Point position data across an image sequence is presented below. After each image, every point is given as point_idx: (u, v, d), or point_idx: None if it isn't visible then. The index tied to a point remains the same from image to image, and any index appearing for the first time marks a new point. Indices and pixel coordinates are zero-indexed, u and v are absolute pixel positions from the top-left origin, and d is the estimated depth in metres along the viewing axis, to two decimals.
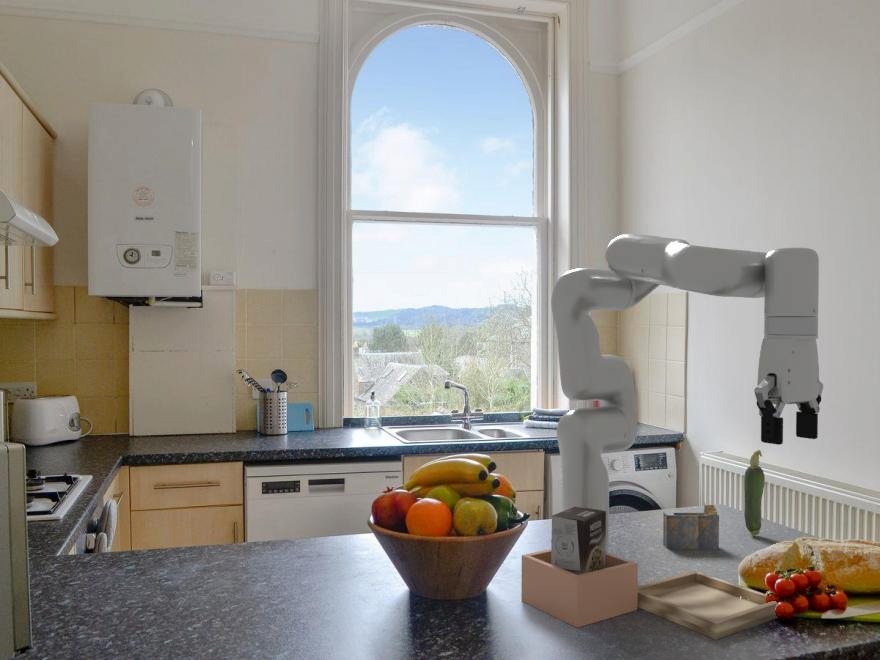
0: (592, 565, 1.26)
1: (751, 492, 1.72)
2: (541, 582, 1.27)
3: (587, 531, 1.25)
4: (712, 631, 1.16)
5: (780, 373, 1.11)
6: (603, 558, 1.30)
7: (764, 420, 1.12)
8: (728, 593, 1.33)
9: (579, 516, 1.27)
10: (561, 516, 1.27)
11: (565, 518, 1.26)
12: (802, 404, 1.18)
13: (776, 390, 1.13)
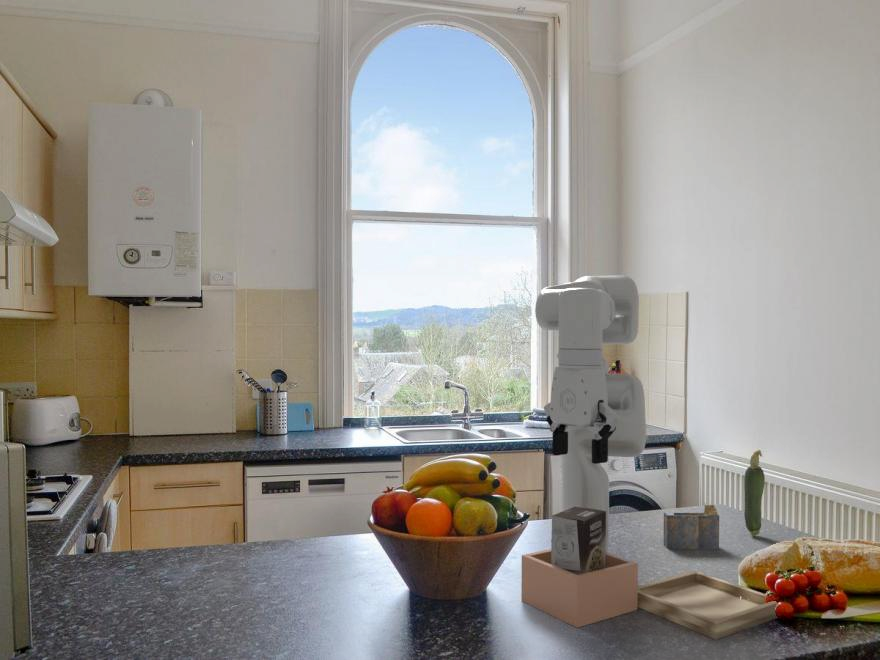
0: (592, 565, 1.26)
1: (751, 492, 1.72)
2: (541, 582, 1.27)
3: (587, 531, 1.25)
4: (712, 631, 1.16)
5: (605, 399, 1.26)
6: (603, 558, 1.30)
7: (601, 443, 1.24)
8: (728, 593, 1.33)
9: (579, 516, 1.27)
10: (561, 516, 1.27)
11: (565, 518, 1.26)
12: None
13: None
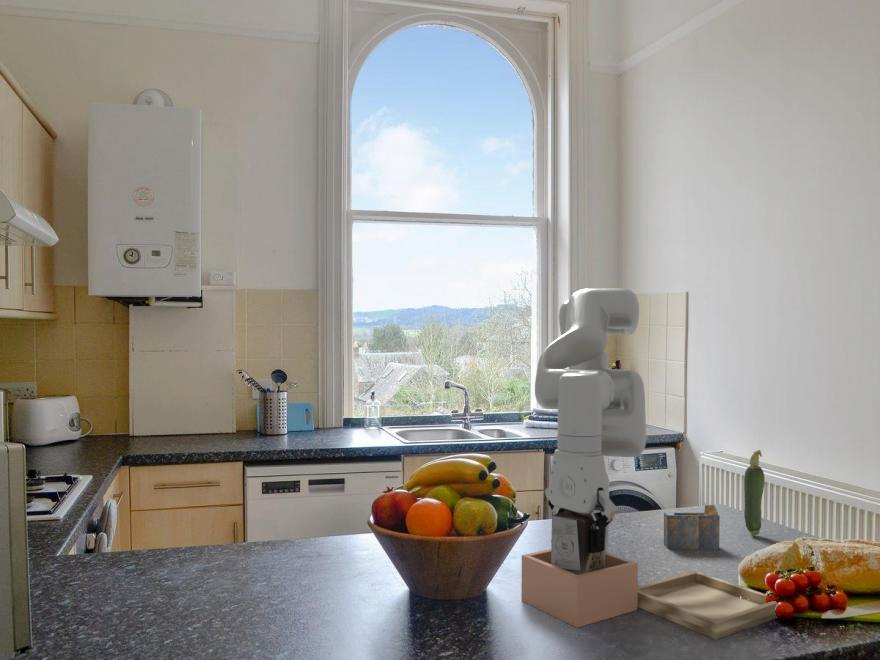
0: (592, 565, 1.26)
1: (751, 492, 1.72)
2: (541, 582, 1.27)
3: (587, 531, 1.25)
4: (712, 631, 1.16)
5: (605, 486, 1.26)
6: (603, 558, 1.30)
7: (598, 533, 1.25)
8: (728, 593, 1.33)
9: (579, 516, 1.27)
10: (561, 516, 1.27)
11: (565, 518, 1.26)
12: None
13: None
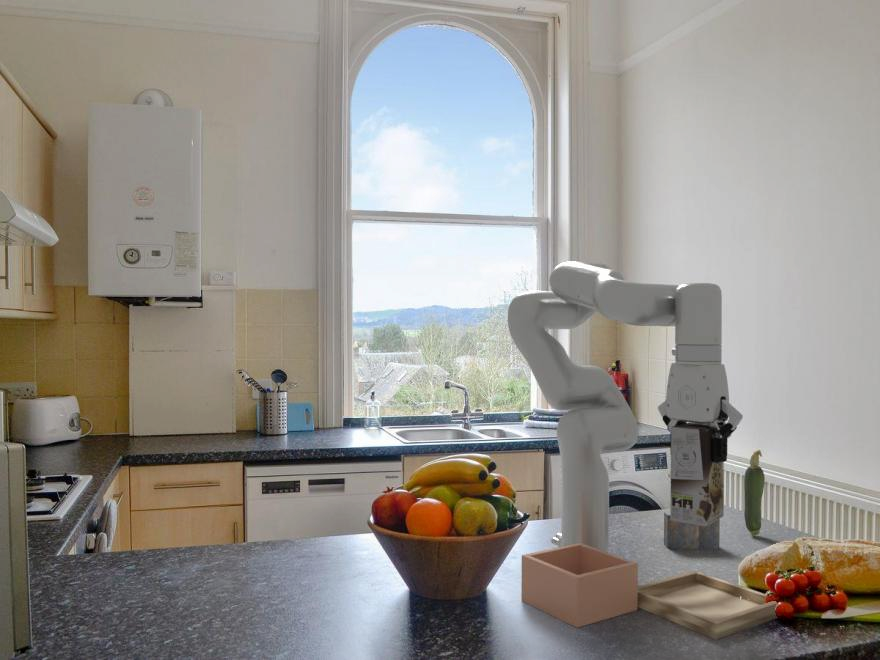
0: (714, 476, 1.25)
1: (751, 492, 1.72)
2: (541, 582, 1.27)
3: (710, 440, 1.23)
4: (712, 631, 1.16)
5: (727, 395, 1.24)
6: (722, 471, 1.28)
7: (721, 442, 1.23)
8: (728, 593, 1.33)
9: (700, 426, 1.25)
10: (681, 427, 1.25)
11: (686, 428, 1.24)
12: None
13: None
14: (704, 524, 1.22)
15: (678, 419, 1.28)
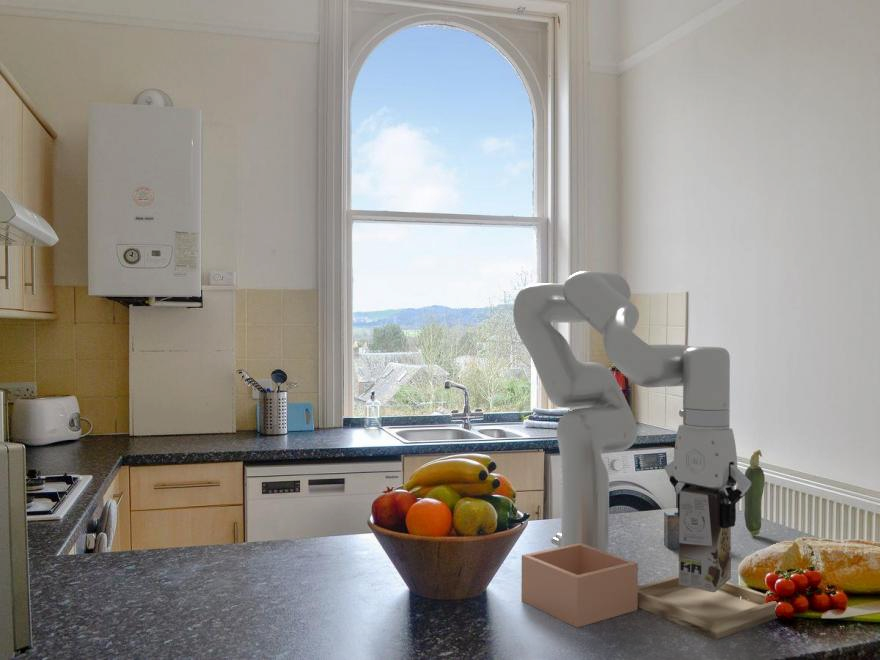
0: (722, 541, 1.25)
1: (751, 492, 1.72)
2: (541, 582, 1.27)
3: (719, 506, 1.23)
4: (712, 631, 1.16)
5: (735, 460, 1.24)
6: (729, 534, 1.28)
7: (730, 508, 1.23)
8: (728, 593, 1.33)
9: (708, 491, 1.25)
10: (689, 491, 1.25)
11: (695, 493, 1.24)
12: None
13: None
14: (713, 590, 1.22)
15: (686, 482, 1.28)
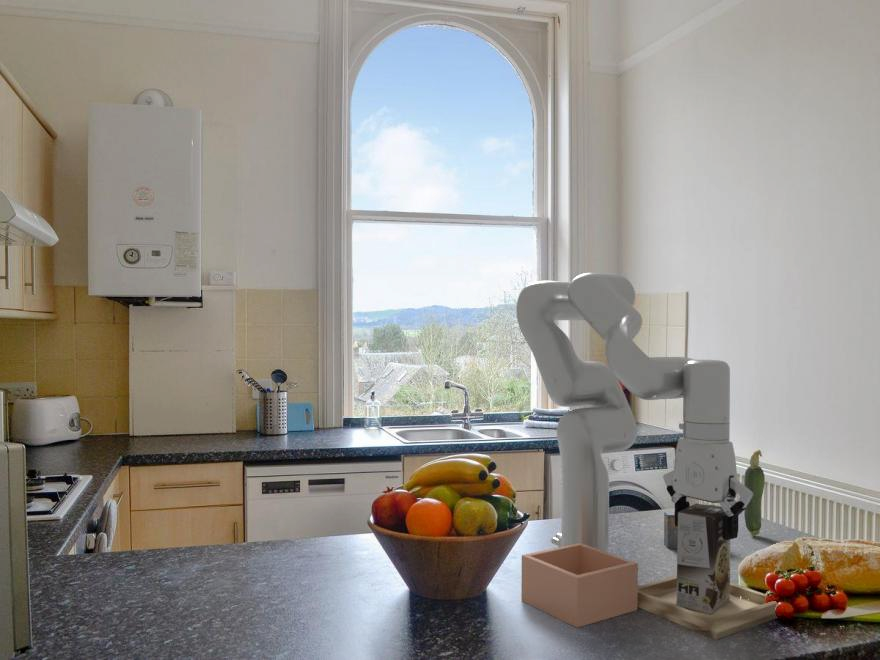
0: (720, 563, 1.25)
1: None
2: (541, 582, 1.27)
3: (716, 528, 1.23)
4: (712, 631, 1.16)
5: (735, 474, 1.24)
6: (728, 556, 1.28)
7: (733, 519, 1.22)
8: None
9: (707, 513, 1.25)
10: (688, 513, 1.26)
11: (693, 515, 1.25)
12: None
13: None
14: (711, 612, 1.23)
15: (686, 495, 1.28)
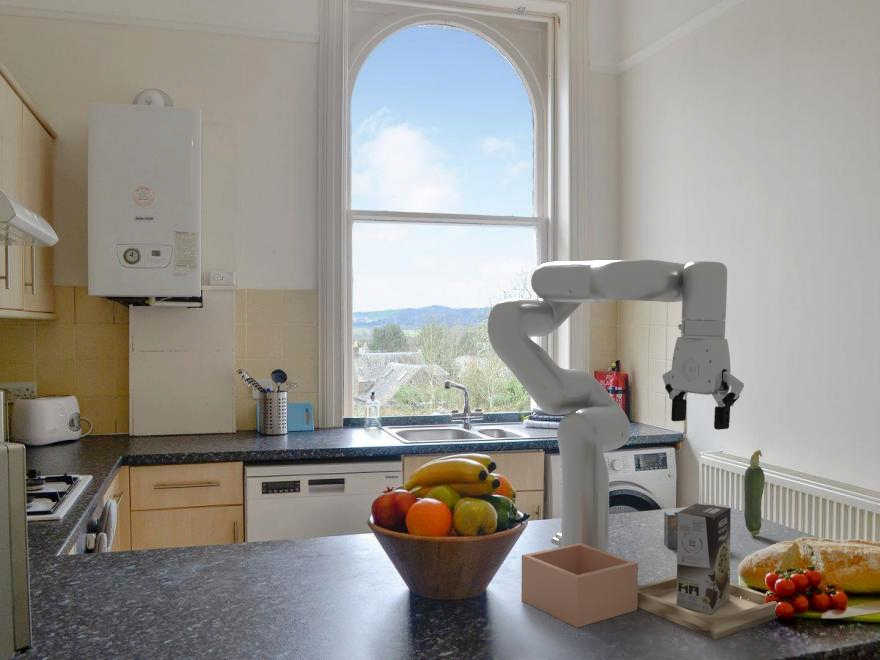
0: (720, 563, 1.25)
1: (751, 492, 1.72)
2: (541, 582, 1.27)
3: (716, 528, 1.23)
4: (712, 631, 1.16)
5: (728, 368, 1.31)
6: (728, 556, 1.28)
7: (724, 410, 1.30)
8: None
9: (706, 513, 1.25)
10: (688, 513, 1.26)
11: (693, 515, 1.25)
12: None
13: None
14: (711, 612, 1.23)
15: (682, 390, 1.35)
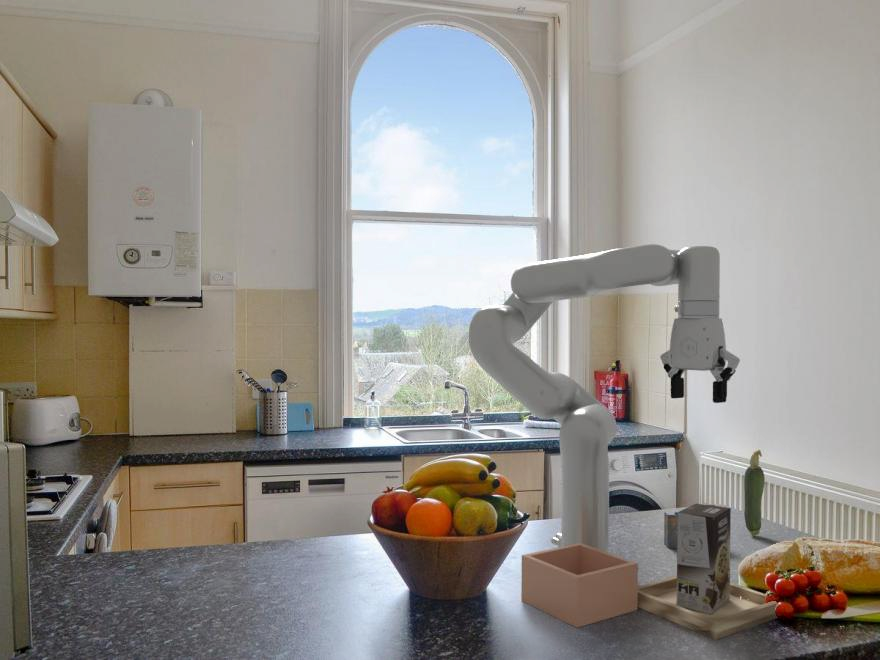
0: (720, 563, 1.25)
1: (751, 492, 1.72)
2: (541, 582, 1.27)
3: (716, 528, 1.23)
4: (712, 631, 1.16)
5: (724, 345, 1.40)
6: (728, 556, 1.28)
7: (722, 384, 1.38)
8: None
9: (706, 513, 1.25)
10: (688, 513, 1.26)
11: (693, 515, 1.25)
12: None
13: None
14: (711, 612, 1.23)
15: (680, 368, 1.43)
